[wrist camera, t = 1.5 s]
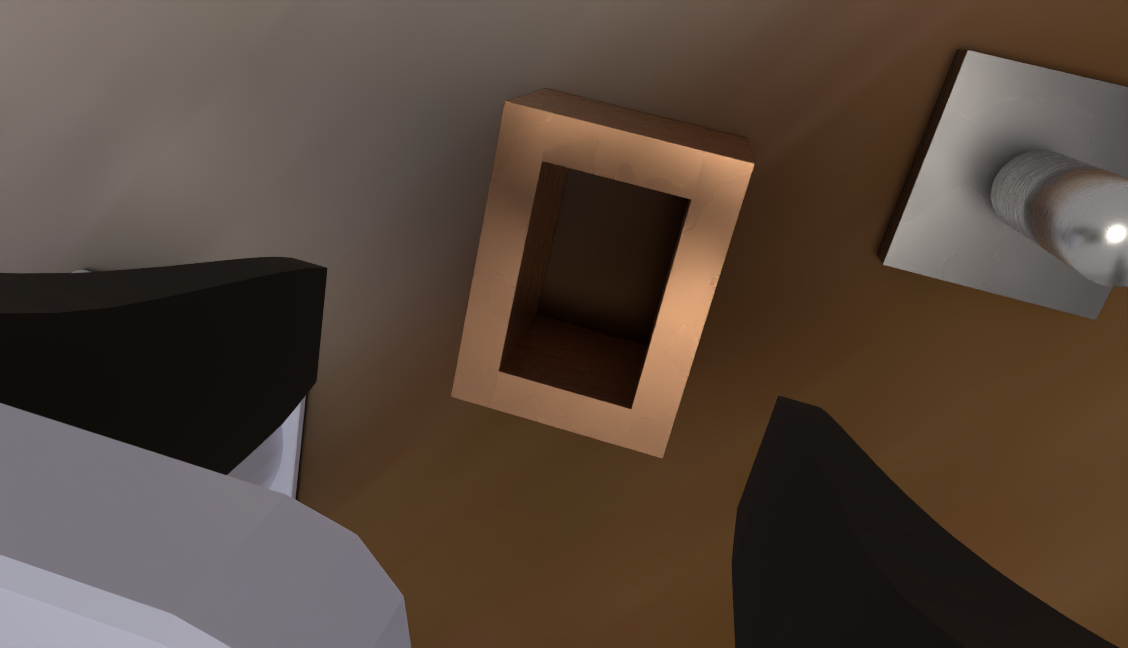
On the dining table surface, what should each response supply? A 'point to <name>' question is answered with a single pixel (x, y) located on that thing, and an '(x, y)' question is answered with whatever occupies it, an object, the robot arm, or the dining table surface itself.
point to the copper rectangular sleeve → (521, 251)
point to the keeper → (1019, 186)
